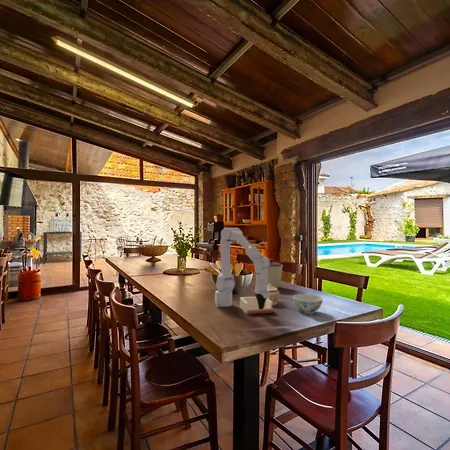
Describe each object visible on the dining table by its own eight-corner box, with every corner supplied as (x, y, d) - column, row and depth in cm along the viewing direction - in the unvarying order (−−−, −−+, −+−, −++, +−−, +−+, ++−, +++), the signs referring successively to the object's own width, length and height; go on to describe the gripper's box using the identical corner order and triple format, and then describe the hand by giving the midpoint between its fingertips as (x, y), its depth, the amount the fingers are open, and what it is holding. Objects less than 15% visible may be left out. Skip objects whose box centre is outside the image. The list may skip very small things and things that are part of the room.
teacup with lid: (269, 307, 158) (269, 286, 158) (258, 304, 165) (258, 283, 165) (284, 304, 164) (284, 284, 164) (273, 301, 172) (273, 281, 172)
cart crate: (245, 315, 144) (245, 303, 144) (239, 308, 156) (239, 297, 156) (272, 313, 147) (272, 301, 147) (264, 307, 159) (264, 296, 159)
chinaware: (316, 308, 157) (316, 294, 157) (327, 316, 142) (327, 301, 142) (289, 308, 157) (289, 294, 157) (297, 317, 142) (297, 301, 142)
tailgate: (246, 314, 144) (248, 311, 140) (246, 313, 144) (248, 309, 140) (272, 313, 146) (275, 309, 142) (271, 311, 147) (274, 308, 143)
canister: (280, 285, 219) (280, 257, 219) (285, 290, 201) (285, 260, 201) (257, 284, 219) (257, 257, 219) (259, 290, 201) (259, 260, 201)
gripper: (274, 284, 136) (274, 313, 136) (264, 278, 150) (264, 304, 150) (260, 284, 134) (259, 313, 134) (251, 278, 148) (251, 305, 149)
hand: (261, 309), depth 142 cm, fingers closed, pressing on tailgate
